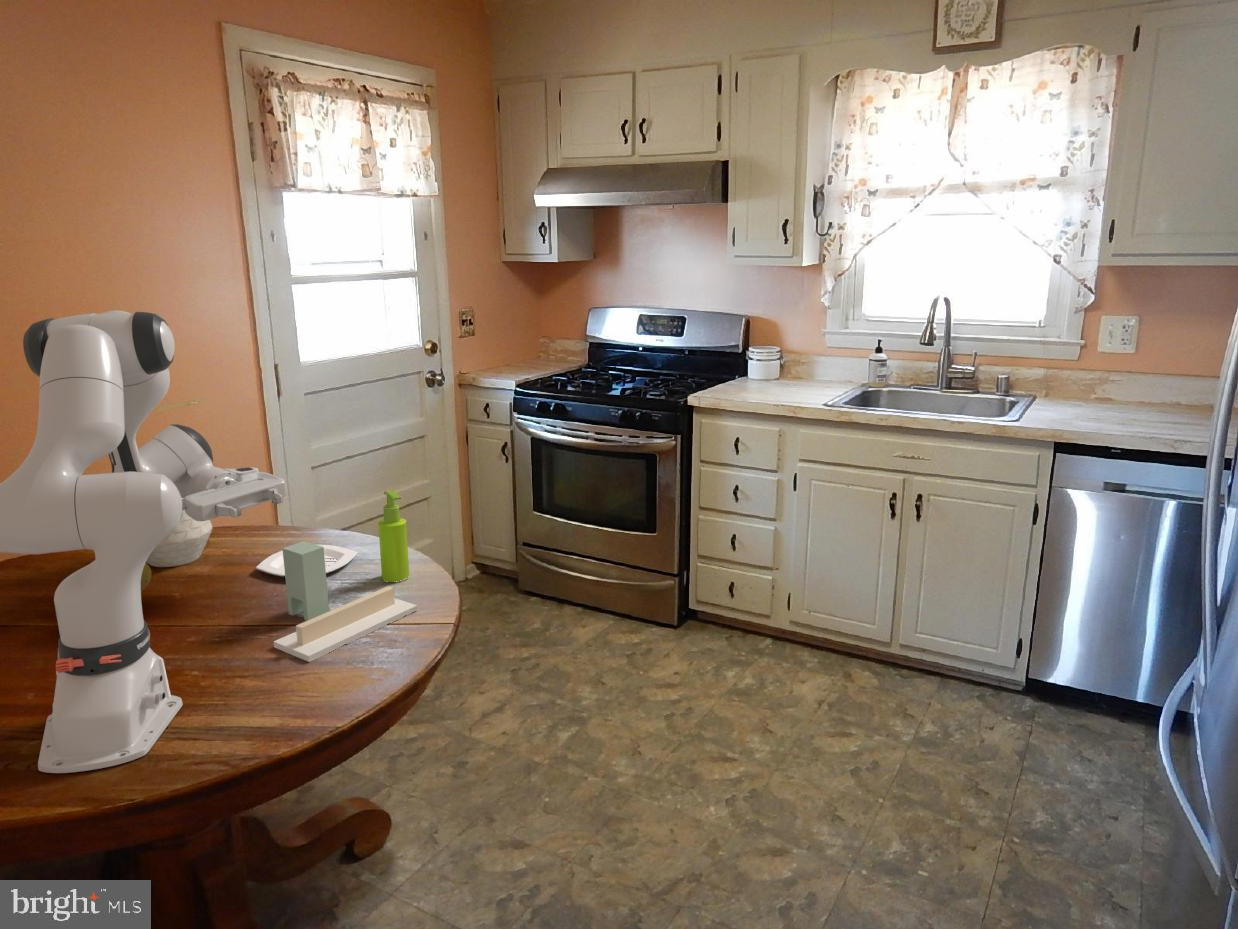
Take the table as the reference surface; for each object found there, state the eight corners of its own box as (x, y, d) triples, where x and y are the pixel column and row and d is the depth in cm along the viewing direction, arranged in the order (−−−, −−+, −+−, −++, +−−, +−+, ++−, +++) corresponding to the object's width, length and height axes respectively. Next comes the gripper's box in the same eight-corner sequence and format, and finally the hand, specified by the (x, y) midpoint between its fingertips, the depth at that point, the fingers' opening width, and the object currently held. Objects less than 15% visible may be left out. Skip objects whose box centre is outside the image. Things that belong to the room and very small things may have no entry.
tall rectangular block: (308, 621, 167) (302, 554, 164) (288, 614, 171) (282, 548, 167) (329, 612, 171) (323, 547, 168) (309, 605, 175) (304, 541, 171)
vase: (208, 569, 193) (196, 470, 187) (122, 576, 189) (107, 475, 183) (221, 543, 209) (210, 452, 203) (142, 549, 205) (129, 456, 199)
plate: (300, 548, 207) (299, 540, 207) (369, 558, 201) (368, 550, 201) (244, 577, 190) (243, 569, 189) (317, 588, 184) (316, 580, 183)
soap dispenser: (389, 586, 184) (384, 498, 179) (377, 576, 190) (372, 490, 185) (415, 580, 188) (410, 493, 183) (403, 570, 193) (398, 486, 188)
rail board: (309, 662, 152) (307, 638, 150) (274, 647, 157) (271, 624, 156) (417, 610, 173) (416, 589, 171) (383, 599, 178) (381, 578, 177)
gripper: (169, 489, 170) (209, 506, 163) (260, 464, 186) (301, 479, 179) (173, 518, 172) (213, 536, 165) (263, 491, 188) (303, 507, 181)
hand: (259, 506), depth 172 cm, fingers open, 8 cm apart
